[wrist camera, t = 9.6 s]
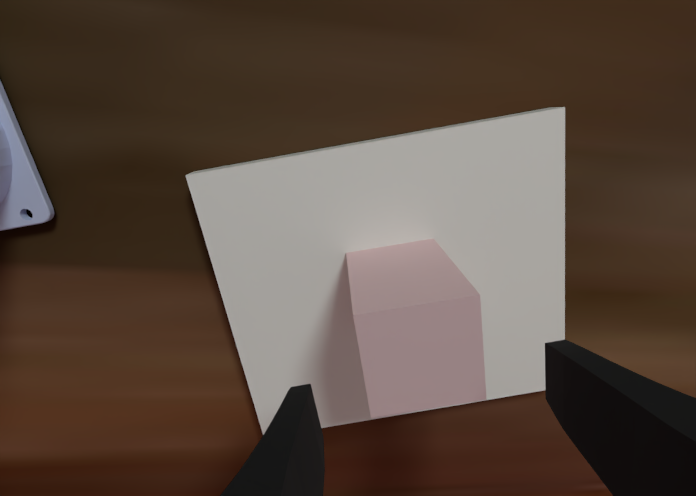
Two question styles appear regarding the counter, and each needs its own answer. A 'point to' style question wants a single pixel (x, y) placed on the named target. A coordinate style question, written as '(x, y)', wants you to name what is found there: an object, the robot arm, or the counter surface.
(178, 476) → the counter surface
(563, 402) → the robot arm
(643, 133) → the counter surface
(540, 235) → the mat
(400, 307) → the rose block
